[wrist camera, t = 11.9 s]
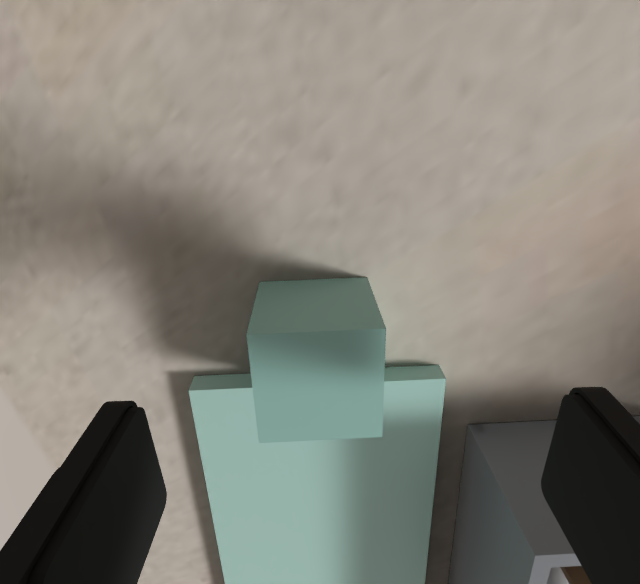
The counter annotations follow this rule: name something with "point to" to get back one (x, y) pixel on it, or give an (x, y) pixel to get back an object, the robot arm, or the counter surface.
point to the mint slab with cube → (320, 444)
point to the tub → (509, 511)
